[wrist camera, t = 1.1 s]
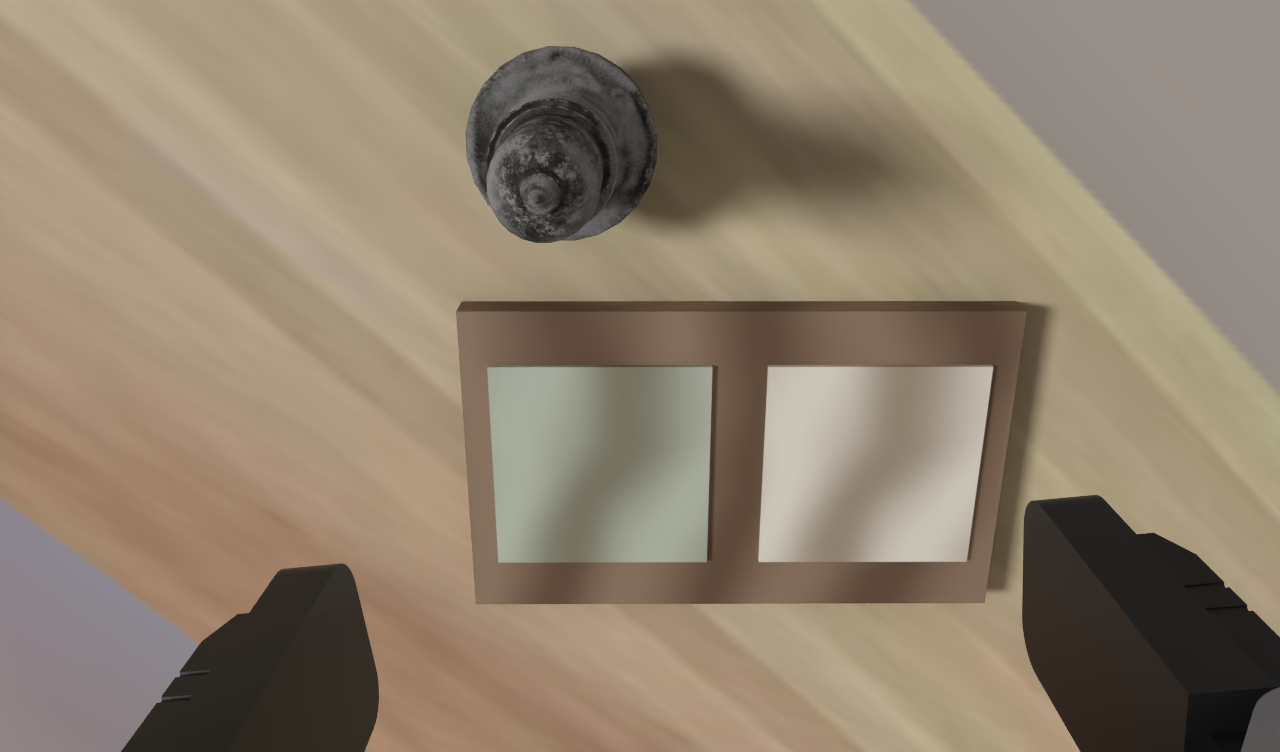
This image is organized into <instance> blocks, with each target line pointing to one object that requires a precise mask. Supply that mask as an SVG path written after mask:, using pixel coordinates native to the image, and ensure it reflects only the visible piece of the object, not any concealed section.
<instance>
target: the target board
mask: <svg viewBox="0 0 1280 752" xmlns="http://www.w3.org/2000/svg"><path fill="white" fill-rule="evenodd" d="M456 316H457V330H458V345H459V360H460V375H461V389H462V404H463V419H464V434H465V448H466V463H467V478H468V493H469V507H470V522H471V537H472V552H473V566H474V581H475V596H476V604H749V603H985V596H986V589H987V582H988V575H989V569H990V562H991V555H992V548H993V541H994V535H995V528H996V521H997V514H998V507H999V501H1000V494H1001V487H1002V480H1003V473H1004V467H1005V460H1006V453H1007V446H1008V439H1009V433H1010V426H1011V419H1012V412H1013V405H1014V398H1015V392H1016V385H1017V378H1018V371H1019V364H1020V358H1021V351H1022V344H1023V337H1024V330H1025V324H1026V317H1027V311H1026V310H1025V309H1024V308H1022V307H1021V306H1020V305H1019V304H1018V303H1016V302H461V304H460V306H459V308H458V309H457V311H456Z"/></svg>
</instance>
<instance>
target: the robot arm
mask: <svg viewBox="0 0 1280 752" xmlns="http://www.w3.org/2000/svg"><path fill="white" fill-rule="evenodd" d="M1022 622H1023V632H1024V638H1025V644H1026V648H1027V652H1028V656H1029V659H1030V662H1031V665H1032V667H1033V669H1034V671H1035V673H1036V675H1037V677H1038V679H1039V681H1040V682H1041V684H1042V686H1043V688H1044V689H1045V691H1046V693H1047V694H1048V696H1049V698H1050V700H1051V701H1052V703H1053V705H1054V707H1055V708H1056V710H1057V712H1058V714H1059V715H1060V717H1061V719H1062V720H1063V722H1064V724H1065V726H1066V727H1067V729H1068V731H1069V733H1070V734H1071V736H1072V738H1073V740H1074V741H1075V743H1076V745H1077V746H1078V748H1079V750H1080V752H1280V637H1279V636H1278V635H1277V634H1276V633H1275V632H1274V631H1273V630H1272V629H1271V628H1270V627H1269V626H1268V625H1267V624H1266V623H1265V622H1264V621H1263V620H1262V619H1261V618H1260V617H1259V616H1258V615H1257V614H1256V613H1255V612H1254V611H1248V609H1247V604H1246V603H1245V602H1244V601H1243V600H1242V599H1241V598H1240V597H1238V596H1237V595H1236V594H1235V593H1234V592H1233V591H1232V590H1231V589H1230V588H1225V586H1224V582H1223V581H1222V580H1221V579H1220V578H1219V577H1218V576H1217V575H1216V574H1215V573H1214V572H1213V571H1212V570H1211V569H1210V568H1209V567H1208V566H1207V565H1206V564H1205V563H1204V562H1203V561H1202V560H1201V559H1200V558H1199V557H1198V556H1197V555H1196V554H1194V553H1192V552H1190V551H1188V550H1186V549H1184V548H1183V547H1181V546H1179V545H1177V544H1175V543H1173V542H1171V541H1169V540H1167V539H1165V538H1163V537H1161V536H1159V535H1157V534H1155V533H1147V534H1136V533H1135V532H1134V531H1133V530H1132V529H1131V528H1130V527H1129V526H1128V525H1127V524H1126V523H1125V522H1124V520H1123V519H1122V518H1121V517H1120V516H1119V515H1118V514H1117V513H1116V512H1115V511H1114V510H1113V509H1112V508H1111V506H1110V505H1109V504H1108V503H1107V502H1106V501H1105V500H1104V499H1103V498H1102V497H1100V496H1098V495H1090V496H1079V497H1069V498H1058V499H1047V500H1036V501H1031V502H1029V504H1028V505H1027V507H1026V511H1025V516H1024V546H1023V604H1022ZM378 703H379V686H378V676H377V671H376V666H375V662H374V658H373V654H372V650H371V646H370V641H369V637H368V633H367V629H366V625H365V621H364V617H363V612H362V608H361V604H360V600H359V596H358V592H357V587H356V583H355V580H354V577H353V574H352V572H351V570H350V569H349V568H348V566H346V565H345V564H331V565H321V566H310V567H299V568H288V569H282V570H280V571H279V572H278V573H277V574H276V575H275V576H274V578H273V579H272V581H271V582H270V584H269V585H268V587H267V588H266V589H265V591H264V592H263V594H262V595H261V597H260V598H259V600H258V601H257V603H256V604H255V605H254V607H253V608H252V610H251V611H250V613H246V614H237V615H236V616H235V617H233V618H232V619H231V620H229V621H228V622H227V623H226V624H224V625H223V626H222V627H220V628H219V629H218V630H216V631H215V632H214V633H212V634H211V635H210V636H208V637H207V638H206V639H205V640H203V641H202V642H201V643H200V645H199V646H198V647H197V649H196V650H195V652H194V653H193V654H192V656H191V657H190V659H189V660H188V661H187V662H186V664H185V665H184V667H183V668H182V669H181V671H180V677H177V678H175V679H174V680H173V682H172V683H171V684H170V686H169V687H168V688H167V690H166V691H165V692H164V694H163V695H162V702H161V703H157V704H156V705H155V706H154V708H153V709H152V710H151V712H150V713H149V714H148V716H147V717H146V719H145V720H144V722H143V723H142V724H141V725H140V727H139V728H138V729H137V731H136V732H135V734H134V735H133V736H132V738H131V739H130V740H129V742H128V743H127V745H126V746H125V747H124V749H123V750H122V751H121V752H364V751H365V749H366V746H367V744H368V741H369V739H370V736H371V734H372V731H373V729H374V726H375V722H376V718H377V712H378Z"/></svg>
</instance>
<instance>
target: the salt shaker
mask: <svg viewBox="0 0 1280 752" xmlns="http://www.w3.org/2000/svg"><path fill="white" fill-rule="evenodd" d="M466 149H467V160H468V163H469V166H470V170H471V173H472V176H473V179H474V182H475V184H476V186H477V187H478V189H479V191H480V192H481V194H482V195H483V197H484V199H485V200H486V202H487V204H488V205H489V206H490V207H491V208H492V210H493V212H494V213H495V215H496V217H497V218H498V220H499V222H500V223H501V224H502V225H503V226H504V227H505V228H506V229H507V230H508V231H509V232H511V233H513V234H514V235H516V236H518V237H520V238H521V239H524V240H528V241H532V242H535V243H551V242H555V241H559V240H574V241H575V240H579V239H583V238H587V237H591V236H595V235H599V234H600V233H602V232H604V231H606V230H608V229H609V228H611V227H613V226H615V225H617V224H618V223H620V222H621V221H622V220H623V219H624V218H625V217H626V216H627V215H628V214H629V213H630V212H631V211H632V210H633V209H634V208H635V207H637V205H638V203H639V202H640V200H641V198H642V197H643V195H644V193H645V192H646V190H647V188H648V187H649V185H650V182H651V178H652V175H653V171H654V168H655V164H656V159H657V133H656V129H655V125H654V121H653V116H652V112H651V109H650V107H649V106H648V104H647V102H646V100H645V98H644V96H643V94H642V92H641V91H640V89H639V87H638V86H637V85H636V84H635V83H634V82H633V81H632V80H631V78H630V77H629V76H628V75H627V74H626V73H625V72H624V71H623V70H622V69H621V68H620V67H618V66H617V65H615V64H613V63H612V62H610V61H609V60H607V59H605V58H604V57H602V56H601V55H599V54H596V53H593V52H589V51H586V50H583V49H579V48H576V47H555V46H547V47H544V48H540V49H536V50H532V51H528V52H525V53H522V54H520V55H519V56H517V57H515V58H514V59H512V60H510V61H509V62H507V63H505V64H504V65H502V66H500V67H499V69H498V70H497V71H496V72H495V73H494V74H493V75H492V76H491V77H490V78H489V79H488V80H487V81H486V82H485V83H484V84H483V86H482V88H481V90H480V92H479V94H478V96H477V97H476V99H475V101H474V103H473V105H472V107H471V111H470V115H469V120H468V124H467V129H466Z"/></svg>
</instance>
